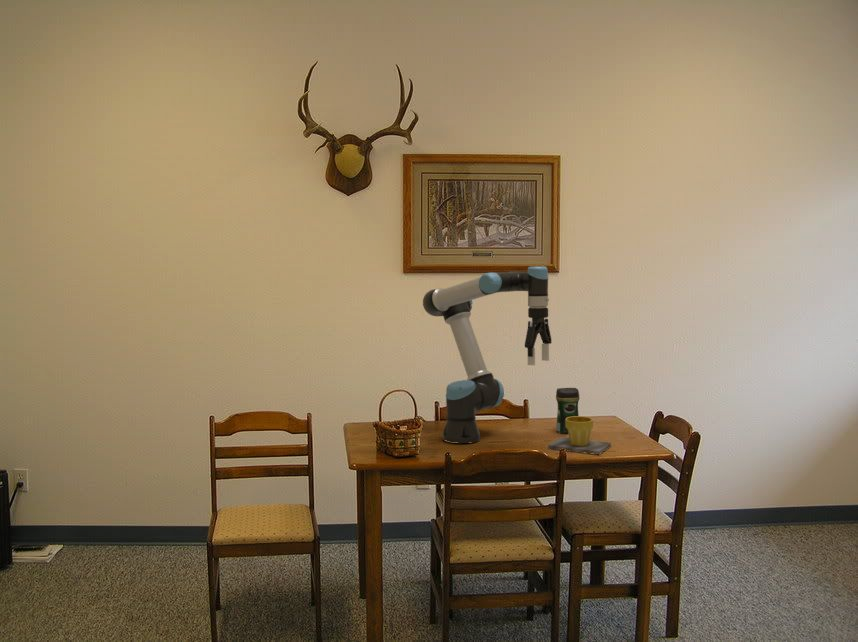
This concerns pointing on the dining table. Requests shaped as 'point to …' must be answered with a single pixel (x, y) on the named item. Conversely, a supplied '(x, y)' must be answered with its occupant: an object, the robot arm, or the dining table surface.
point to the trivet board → (592, 446)
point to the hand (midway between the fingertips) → (538, 362)
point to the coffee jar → (566, 406)
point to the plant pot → (579, 429)
